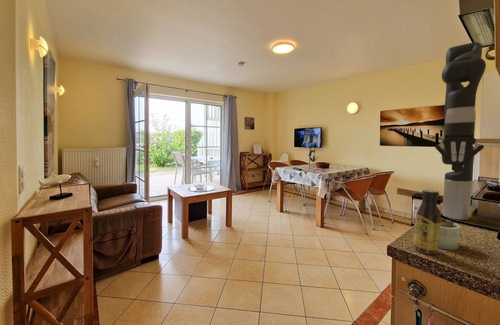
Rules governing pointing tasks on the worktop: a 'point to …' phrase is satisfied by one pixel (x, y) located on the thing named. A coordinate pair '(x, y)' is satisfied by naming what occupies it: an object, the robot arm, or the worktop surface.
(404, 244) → the worktop surface
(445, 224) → the lid
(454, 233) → the jar
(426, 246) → the sauce bottle
